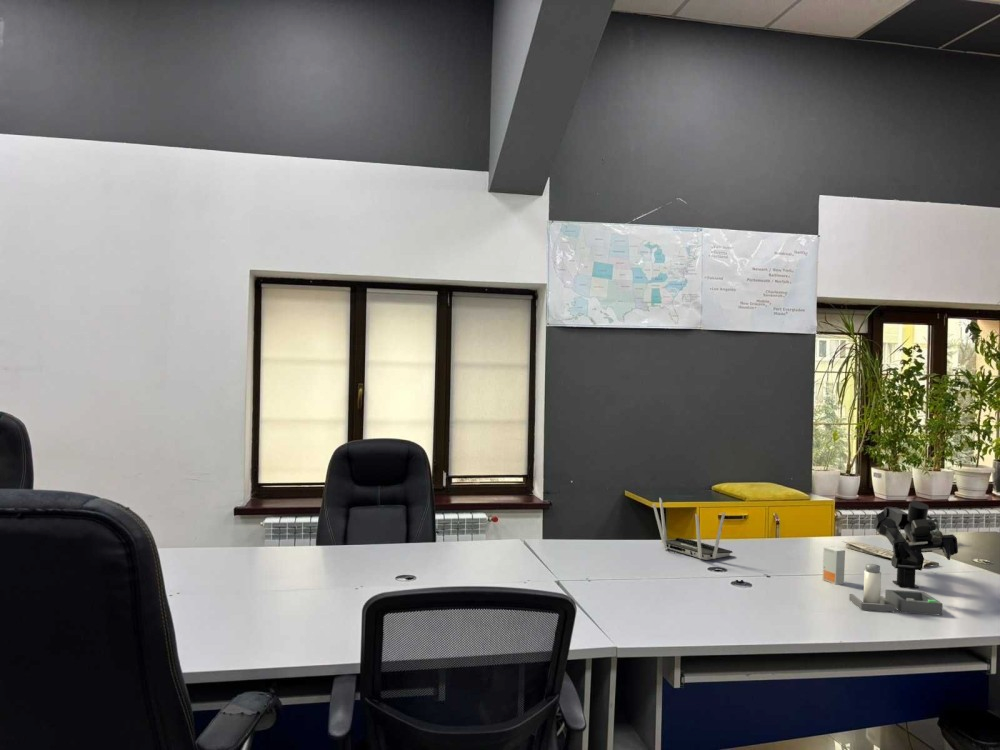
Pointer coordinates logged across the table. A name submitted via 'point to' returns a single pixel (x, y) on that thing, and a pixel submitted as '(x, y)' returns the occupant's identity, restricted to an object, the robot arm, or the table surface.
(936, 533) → the grey rock
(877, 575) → the plug
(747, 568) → the table surface
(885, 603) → the grey u-shaped rail
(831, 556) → the skincare box
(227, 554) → the table surface
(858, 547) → the newspaper
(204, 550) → the table surface
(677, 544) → the wireless router
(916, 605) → the dock
